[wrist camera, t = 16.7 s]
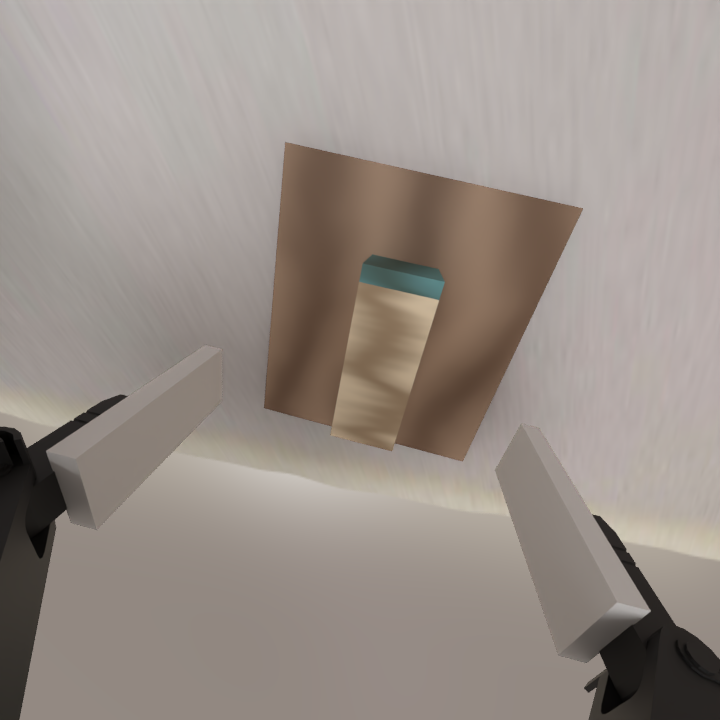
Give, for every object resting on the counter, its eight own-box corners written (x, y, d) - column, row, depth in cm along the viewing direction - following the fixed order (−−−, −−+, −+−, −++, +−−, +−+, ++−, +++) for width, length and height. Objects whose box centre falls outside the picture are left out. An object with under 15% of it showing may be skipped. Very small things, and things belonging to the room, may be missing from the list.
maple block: (395, 414, 26) (438, 269, 20) (392, 451, 22) (445, 282, 16) (343, 401, 26) (372, 254, 21) (330, 435, 22) (362, 263, 17)
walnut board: (268, 402, 28) (264, 408, 28) (291, 145, 20) (285, 142, 19) (461, 453, 28) (462, 461, 27) (574, 209, 19) (583, 208, 18)
